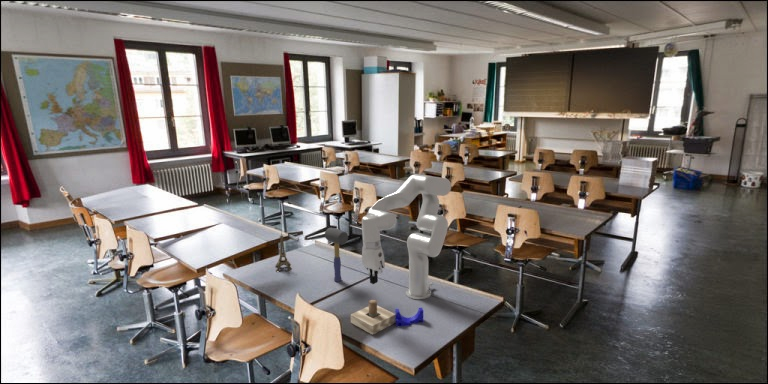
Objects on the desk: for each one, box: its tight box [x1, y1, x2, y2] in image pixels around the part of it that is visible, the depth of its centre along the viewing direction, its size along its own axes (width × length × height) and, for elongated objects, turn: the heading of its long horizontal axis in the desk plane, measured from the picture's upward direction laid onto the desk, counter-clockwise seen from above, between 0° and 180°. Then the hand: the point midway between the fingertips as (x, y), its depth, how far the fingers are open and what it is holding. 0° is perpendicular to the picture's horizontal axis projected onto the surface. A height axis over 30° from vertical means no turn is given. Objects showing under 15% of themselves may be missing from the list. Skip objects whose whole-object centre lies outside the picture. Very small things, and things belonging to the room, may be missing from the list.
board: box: [350, 305, 396, 336], centre depth 183 cm, size 14×14×4 cm
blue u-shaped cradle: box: [394, 307, 424, 327], centre depth 183 cm, size 12×4×6 cm, turn 96°
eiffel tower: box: [274, 231, 293, 273], centre depth 242 cm, size 11×11×25 cm
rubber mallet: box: [324, 227, 349, 283], centre depth 223 cm, size 12×8×30 cm, turn 46°
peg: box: [368, 299, 378, 318], centre depth 183 cm, size 4×4×10 cm
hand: (374, 282), depth 184 cm, fingers closed
